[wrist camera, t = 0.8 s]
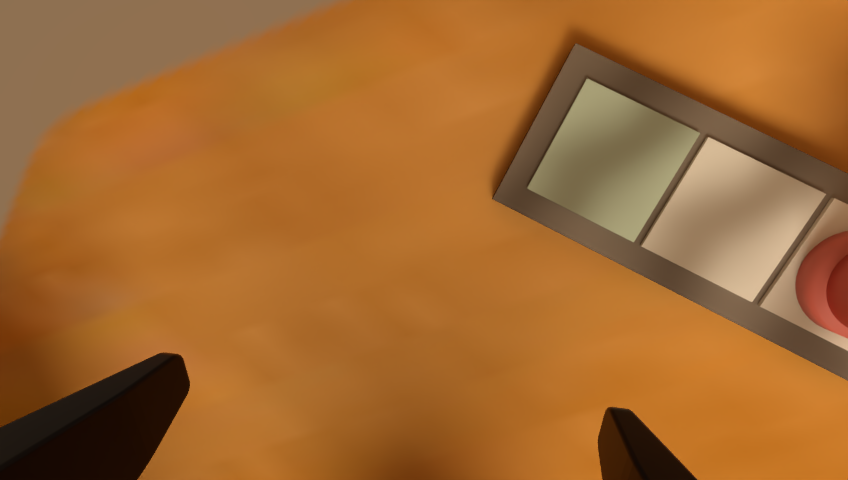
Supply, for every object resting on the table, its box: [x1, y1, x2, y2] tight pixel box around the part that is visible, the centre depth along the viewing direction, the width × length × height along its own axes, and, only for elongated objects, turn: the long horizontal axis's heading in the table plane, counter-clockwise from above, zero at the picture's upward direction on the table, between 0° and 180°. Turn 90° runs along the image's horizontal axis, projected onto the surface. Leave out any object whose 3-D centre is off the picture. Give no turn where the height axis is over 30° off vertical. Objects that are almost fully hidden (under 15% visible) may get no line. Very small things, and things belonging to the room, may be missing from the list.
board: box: [492, 44, 848, 380], centre depth 20 cm, size 20×8×1 cm, turn 63°
